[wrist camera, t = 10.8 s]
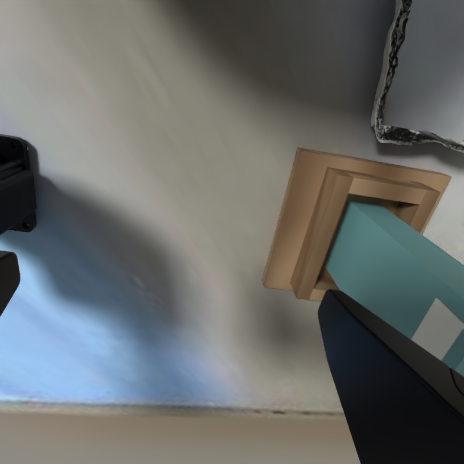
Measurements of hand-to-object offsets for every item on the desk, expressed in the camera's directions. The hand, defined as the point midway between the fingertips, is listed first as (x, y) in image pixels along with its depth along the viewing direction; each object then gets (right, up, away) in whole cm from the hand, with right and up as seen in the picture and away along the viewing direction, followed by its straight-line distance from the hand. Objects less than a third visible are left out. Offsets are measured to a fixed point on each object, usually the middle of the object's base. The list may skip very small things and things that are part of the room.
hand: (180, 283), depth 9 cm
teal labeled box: (+11, +1, +14) cm, 17 cm away
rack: (+10, +2, +15) cm, 18 cm away
